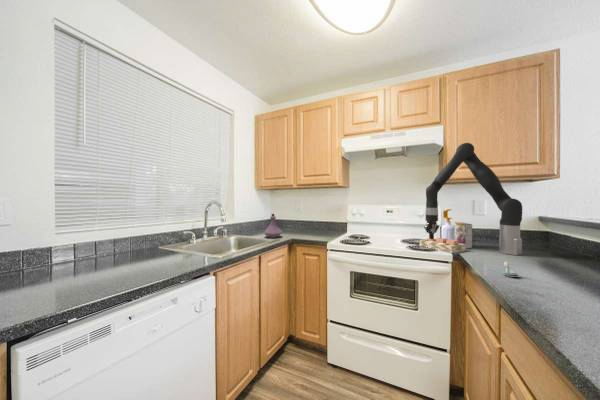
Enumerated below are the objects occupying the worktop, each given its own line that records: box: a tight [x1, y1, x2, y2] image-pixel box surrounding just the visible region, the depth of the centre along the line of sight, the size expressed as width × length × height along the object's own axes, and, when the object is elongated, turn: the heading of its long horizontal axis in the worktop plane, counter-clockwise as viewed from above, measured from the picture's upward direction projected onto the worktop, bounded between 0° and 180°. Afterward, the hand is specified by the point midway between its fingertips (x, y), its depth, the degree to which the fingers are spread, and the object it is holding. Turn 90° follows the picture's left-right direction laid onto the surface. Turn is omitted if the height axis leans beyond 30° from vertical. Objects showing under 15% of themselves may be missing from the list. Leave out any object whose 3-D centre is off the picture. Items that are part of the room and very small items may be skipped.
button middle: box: [435, 237, 447, 243], centre depth 151 cm, size 5×5×3 cm
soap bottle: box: [440, 208, 455, 240], centre depth 178 cm, size 9×9×25 cm
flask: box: [263, 213, 283, 239], centre depth 194 cm, size 16×16×20 cm
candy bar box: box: [454, 221, 473, 249], centre depth 155 cm, size 11×5×16 cm, turn 179°
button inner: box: [446, 239, 458, 245], centre depth 144 cm, size 5×5×3 cm
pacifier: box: [500, 261, 521, 278], centre depth 98 cm, size 7×6×6 cm
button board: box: [419, 239, 467, 254], centre depth 151 cm, size 22×14×4 cm, turn 24°
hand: (431, 238), depth 157 cm, fingers closed
